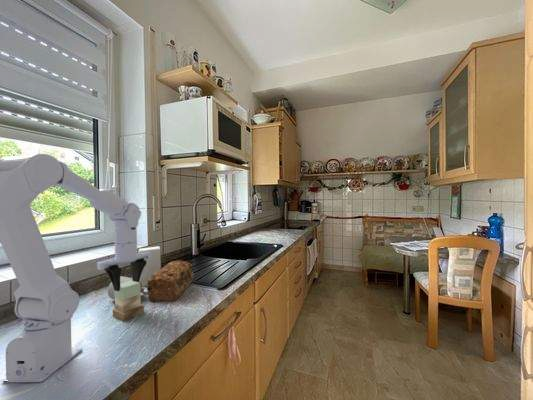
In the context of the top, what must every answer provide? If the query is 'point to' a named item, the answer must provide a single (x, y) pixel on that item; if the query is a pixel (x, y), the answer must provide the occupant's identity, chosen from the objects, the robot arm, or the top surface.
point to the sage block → (128, 290)
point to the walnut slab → (128, 313)
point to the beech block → (127, 303)
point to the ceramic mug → (122, 280)
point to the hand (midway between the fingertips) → (126, 287)
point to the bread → (170, 281)
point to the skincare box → (150, 264)
